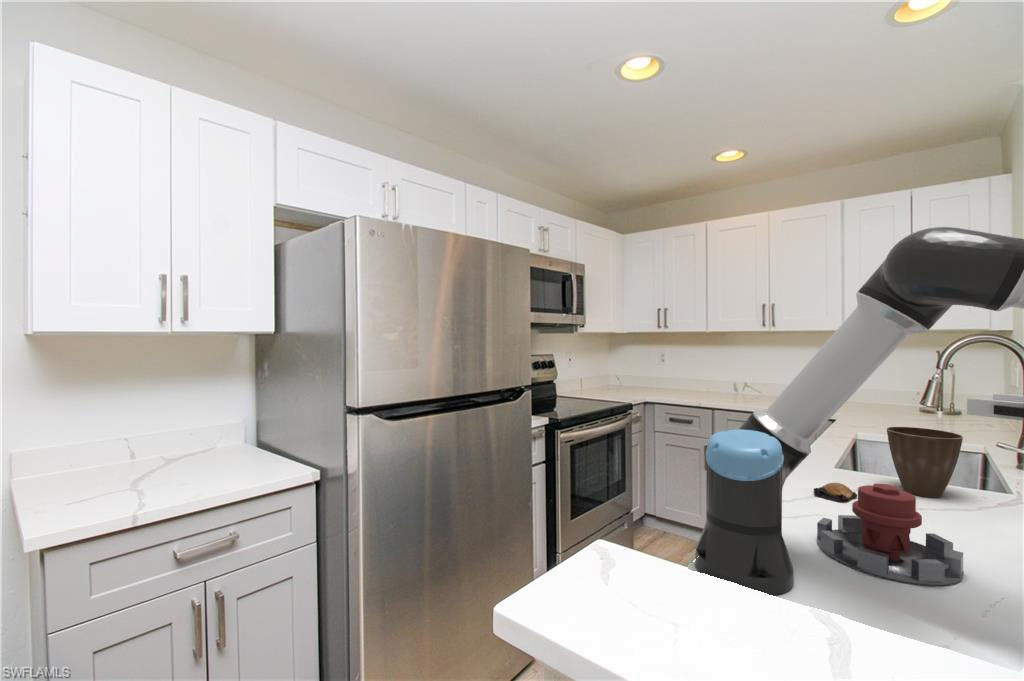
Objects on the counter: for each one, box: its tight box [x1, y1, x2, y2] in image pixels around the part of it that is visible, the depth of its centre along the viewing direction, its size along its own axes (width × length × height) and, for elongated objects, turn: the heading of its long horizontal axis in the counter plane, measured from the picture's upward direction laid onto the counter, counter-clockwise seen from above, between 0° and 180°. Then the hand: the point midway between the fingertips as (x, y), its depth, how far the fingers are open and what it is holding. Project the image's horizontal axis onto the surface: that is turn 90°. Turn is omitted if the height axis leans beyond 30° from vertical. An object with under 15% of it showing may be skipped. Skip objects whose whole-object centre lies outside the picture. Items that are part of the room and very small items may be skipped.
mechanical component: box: [851, 483, 923, 561], centre depth 86 cm, size 12×10×10 cm
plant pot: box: [886, 426, 964, 499], centre depth 122 cm, size 15×15×16 cm
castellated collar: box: [816, 514, 965, 587], centre depth 86 cm, size 21×21×4 cm
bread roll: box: [813, 482, 858, 504], centre depth 120 cm, size 11×8×4 cm
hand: (980, 403), depth 81 cm, fingers open, 13 cm apart
